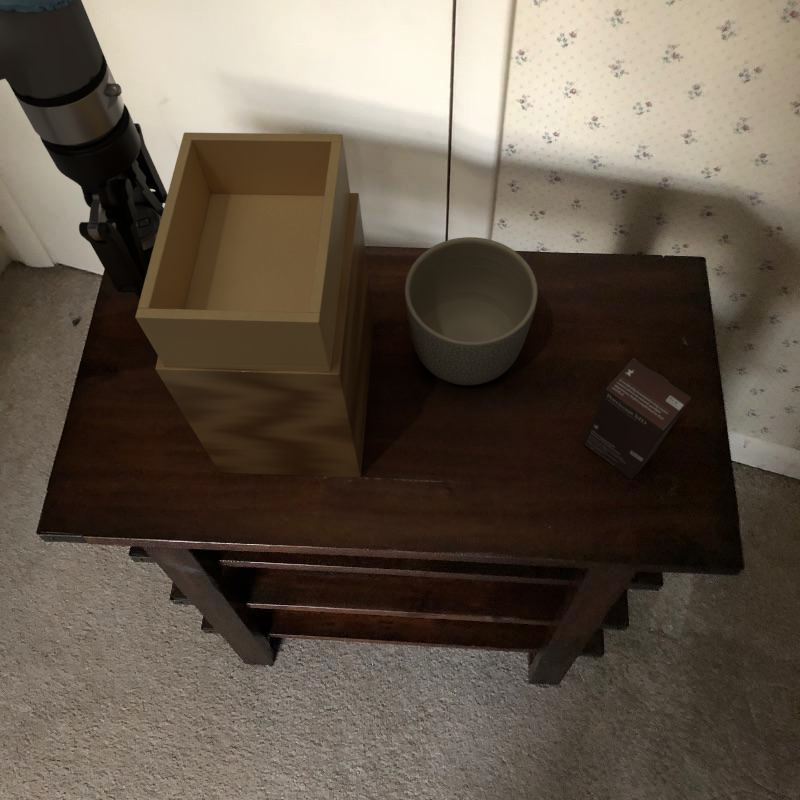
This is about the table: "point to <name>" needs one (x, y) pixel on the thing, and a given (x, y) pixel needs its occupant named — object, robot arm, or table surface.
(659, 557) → the table surface
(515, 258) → the planter
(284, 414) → the stand
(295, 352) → the open bin
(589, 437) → the box
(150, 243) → the beer can
